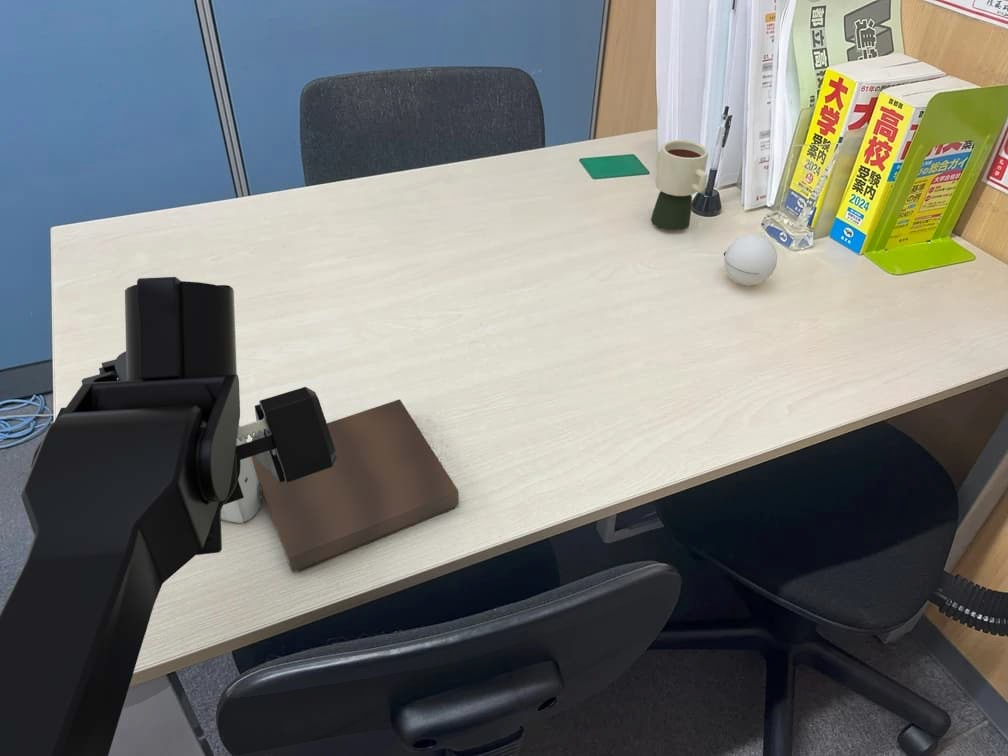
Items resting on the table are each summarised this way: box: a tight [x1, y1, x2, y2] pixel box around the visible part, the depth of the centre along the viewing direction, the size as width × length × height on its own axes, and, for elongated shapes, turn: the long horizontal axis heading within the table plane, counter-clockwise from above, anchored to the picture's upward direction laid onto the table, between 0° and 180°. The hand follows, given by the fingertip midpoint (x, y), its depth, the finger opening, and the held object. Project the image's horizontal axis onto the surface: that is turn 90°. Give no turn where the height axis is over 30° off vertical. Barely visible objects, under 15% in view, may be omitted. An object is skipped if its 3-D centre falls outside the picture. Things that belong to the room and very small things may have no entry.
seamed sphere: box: [719, 233, 778, 287], centre depth 102 cm, size 10×7×7 cm
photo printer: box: [221, 425, 262, 524], centre depth 67 cm, size 10×4×12 cm, turn 75°
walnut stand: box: [251, 399, 460, 573], centre depth 73 cm, size 17×15×2 cm
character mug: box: [650, 139, 709, 231], centre depth 113 cm, size 11×7×13 cm, turn 31°
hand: (198, 468), depth 57 cm, fingers open, 9 cm apart
